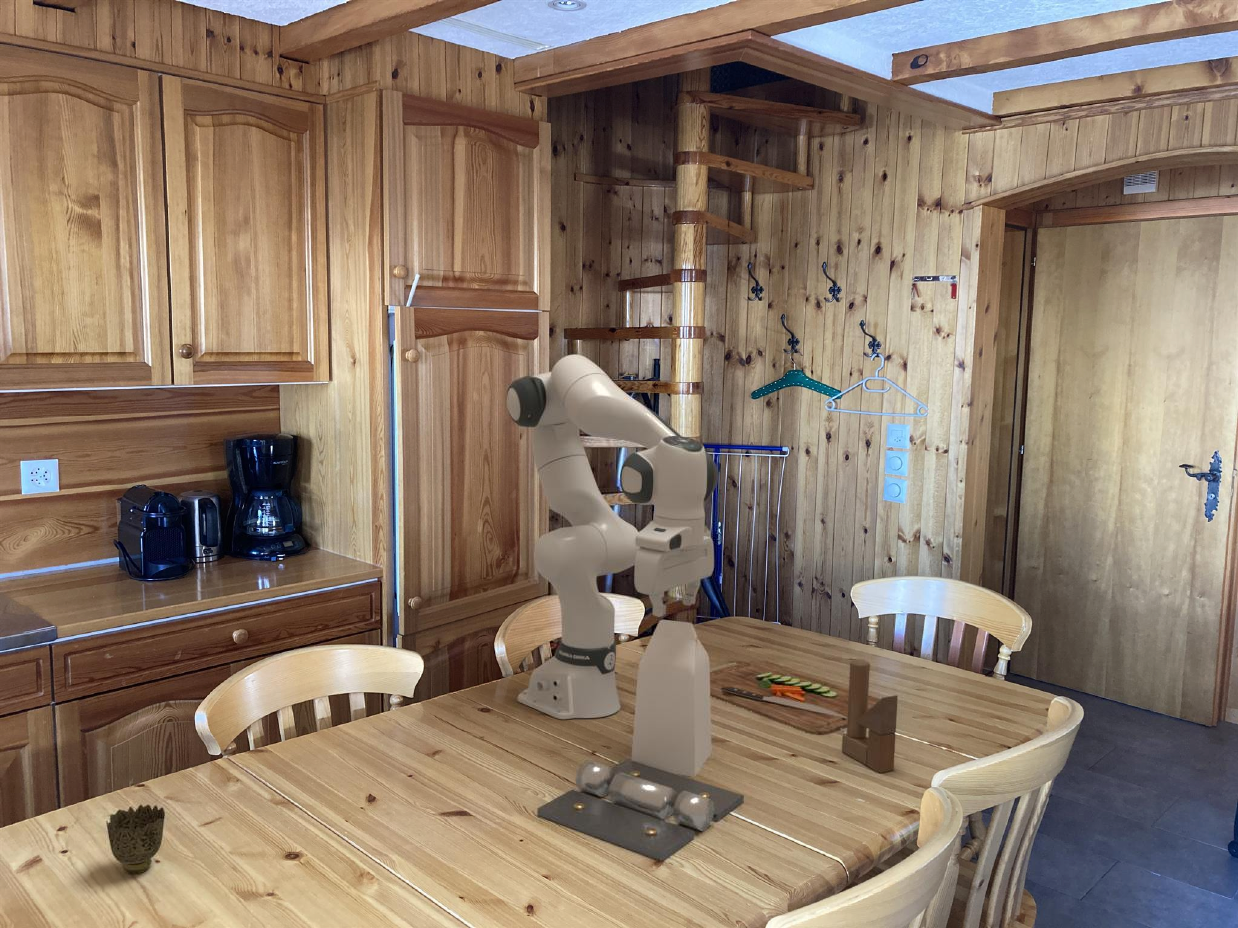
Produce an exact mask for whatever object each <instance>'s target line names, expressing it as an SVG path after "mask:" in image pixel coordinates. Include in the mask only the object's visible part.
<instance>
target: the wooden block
mask: <svg viewBox="0 0 1238 928" xmlns="http://www.w3.org/2000/svg"><path fill="white" fill-rule="evenodd" d="M870 667H871V664H870V662H869V661H867V660H865V659H851V660H850V663H849V677H848V678H849V679H848V680H849V682H848V689H849V698H848V720H847V728H846V730H847V733H846V734H843V733H842V735H841V736H842V737H841V738H842V739H841V740H842V742H841V751H842V753H844V754H846V755H847V756H848V757H851V758H853V759H854V760H856V761H857V762H859V763H861V764H862V765H865V766H867V767H868V768H869V769H871V770H873V771H875V772H877V773H878V774H882V773H885V772H890V771H894V767H895V751H896V749H895V747H896V732H897V717H898V716H897V715H898V714H897V713H898V699H899V697H898V694H895V695H890V696H883V697H881V698H879V699H880V700H879V701H878V702H877V703H876V704H875V705H874V706H873V707H871V708H870V709H869V710H868V695H869V689H870V685H869V684H870V670H871V669H870ZM867 729H868V732H867ZM867 733H868V734H867ZM867 735H868V736H867Z"/></svg>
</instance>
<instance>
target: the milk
mask: <svg viewBox="0 0 1238 928" xmlns="http://www.w3.org/2000/svg"><path fill="white" fill-rule="evenodd" d="M652 634H653V635H652V636H651V637H650V640H649V642H648V644H647V647H646V649H645V650H644V652H643V654H642V656H641V659H640V662H639V664H638V669H637V677H636V678H637V679H636V680H637V681H636V693H635V694H636V695H635V707H634V708H635V709H634V719H633V720H634V722H633V735H632V749H631V759H630V760H631V761H634V762H637V763H641V764H644V765H647V766H650V767H654V768H657V769H660V770H663V771H667V772H670V773H673V774H677V775H680V776H687V777H691V778H692V777H694V778H696V776H697V774H698V773H699V772H700V770H701V769H702V768H703V766H704V765H705V763H706V762H707V761H708V759H709V757H710V756H711V754H712V717H711V716H712V714H711V708H712V707H711V696H710V669H711V668H710V658H709V654H708V653H707V650H706V649H705V648H704V646H703V644H702V642H701V641H700V640H699V639H698V635H697V633H696V629H695V627H694V624H693V623H692V622H686V621H676V620H670V619H669V620H666V619H661V620H659V621H658V624H657V626H656V628H655V629H654V631H653V633H652Z"/></svg>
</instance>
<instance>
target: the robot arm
mask: <svg viewBox="0 0 1238 928" xmlns="http://www.w3.org/2000/svg"><path fill="white" fill-rule="evenodd" d="M506 406H507V410H508V414H509V416H510V418H511V420H512V421H513V422H514V424H515V425H517V426H519V427H522V428H532V429H531V432H530V438H531V439H530V440H531V446H532V447H531V449H532V455H533V460H534V463H535V468H536V471H537V474H538V477H539V481H540V484H541V487H542V490H543V491H542V492H543V494H544V497H545V500H546V504H547V506H548V507H549V508H550V509H551V511H553V512H554V513H557V514H559V515H561V516H562V517H564V518H565V520H567V521H568V522H569V523H570V524H571V526H566V527H564V526H563V527H559V528H557V529H554V530H551V531H549V532H546V533H544V534H543V535H541V536H540V537H539V538H538V539H537V541H536V543H535V545H534V548H533V550H534V551H533V562H534V565H535V567H536V569H537V572H539V574H540V575H541V576H542V577H543V578H544V579H545V580H546V581H548V582H549V583H550V584H551V585H552V587H553V588H554V590H555V591H556V594H557V597H558V600H559V603H560V612H561V613H560V614H561V639H558V640H557V641H556V642H552V643H550V645H551V647H550V649H551V650H552V649H555V653H554V654H553V655H554V656H552V657H551V658H549V659H548V660H547V661H545V662H544V663H542V664H541V665H540V666H538V667H537V668H536V669H534V670H533V671H532V673H531V675H530V678H529V682H528V688H526V689H524V690H523V691H521V692H520V693H519V694H518V695H517V702H519V703H521V704H524V705H526V706H528V707H531V708H533V709H535V710H537V711H539V712H542V713H544V714H547V715H548V716H551V717H553V718H555V719H559V720H569V719H594V718H602V717H607V716H610V715H613V714H615V713H617V712H619V710H621V706H622V705H621V703H620V699H619V696H618V690H617V683H616V682H617V681H616V672H615V668H616V661H617V642H616V640H615V622H616V621H615V616H616V615H615V614H616V613H615V611H616V610H615V607H614V604H613V603H612V601H611V600H610V599H609V598H607V597H606V596H605V595H603V594H601V593H600V592H599V589H598V584H597V577H601V576H605V575H612V574H618V573H620V572H622V571H625V570H627V569H629V568H632V567H633V566H634V574H633V576H634V579H633V581H634V587H635V589H636V591H637V592H638V593H640V594H644V595H648V597H649V600H650V602H651V605H652V614H653V616H654V617H659V618H660V617H663V616H665V615H666V613H667V611H666V610H667V605H665V604H664V601H663V598H664V597H665V592H667V591H670V590H674V589H676V588H678V587H682V586H685V585H687V586H686V589H685V593H683V594H682V604H683V605H685V606H688V607H690V606H693V605H695V603H696V598H697V597H696V596H697V594H698V591H699V588H700V586H701V580H703V579H706V578H709V577H711V576H712V575H713V571H714V568H715V550H714V549H715V548H714V547H715V546H714V541H713V539H712V537H711V531H710V530H709V527H708V526H707V525H705V524H706V523H705V521H706V520H705V519H706V512H705V508H704V503H705V502H706V501H707V500H708V499H709V498H710V497H711V496H712V494H713V493H714V491H715V489H716V488H717V485H718V482H719V472H718V468H717V464H716V462H715V461H714V458H713V457H712V456H711V454H709V452H708V451H706V449H705V446H704V444H702V443H701V442H700V441H698V440H697V439H694V438H692V437H685V436H682V435H681V434H680V433H679V432H678V431H676V430H675V429H674V428H673V427H672V426H671V425H670V424H668V422H666V421H665V420H664V419H663V418H661V416H660V415H658V414H657V413H656V412H655V411H653V410H652V409H650V408H648V407H647V406H646V405H644V404H643V403H641V402H639V401H638V400H636V399H634V398H633V397H631V396H630V395H629V394H627V392H625V391H624V390H622V389H621V388H620V387H619V386H618V385H617V384H616V383H615V382H614V381H613V380H612V379H611V378H610V377H609V375H608V374H607V373H605V371H604V370H603V369H601V367H599V366H598V365H597V364H596V363H595V362H593V361H592V360H591V359H589V358H587V357H586V356H584V355H581V354H569V355H566V356H563V357H561V358H560V359H559V360H558V361H557V362H556V363H555V365H554V366H553V367H552V370H551V371H549V372H544V373H543V372H542V373H539V374H534V375H532V376H531V375H526V376H523V377H520V378H517V379H515V380H513V381H512V382H511V383H510V385H509V386H508V388H507V391H506ZM580 431H582V432H584V434H587V435H588V436H591V437H593V438H594V437H595V438H602V439H611V440H620V441H626V442H631V443H635V444H638V445H640V446H642V447H644V448H645V449H644V450H641V451H637V452H632V453H631V454H629V455H628V456H627V458H625V460H624V462H623V463H622V466H621V469H620V473H619V483H620V488H621V489H620V490H621V492H622V493H623V495H624V496H625V497H626V498H627V499H628V500H629V501H630V502H631V503H633V504H637V505H641V506H642V505H643V506H647V505H648V506H650V505H652V506H654V507H653V508H654V510H653V519H652V520H651V521H650V522H649V523H648V524H647V525H646V526H645V527H643V529H641V530H640V531H638V529H637V528H636V527H635V525H633V524H631V523H629V522H627V521H625V520H624V519H622V518H621V517H620V516H619V515H618V514H617V513H616V512H615V511H614V510H613V509H612V507H611V506H610V505H609V503H608V502H607V501H606V499H605V498H604V496H603V495H602V493H601V491H600V490H599V486H598V485H597V482H596V479H595V476H594V473H593V470H592V468H591V465H590V462H589V459H588V456H587V453H586V451H585V447H584V445H583V442H582V439H581V437H580Z"/></svg>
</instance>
